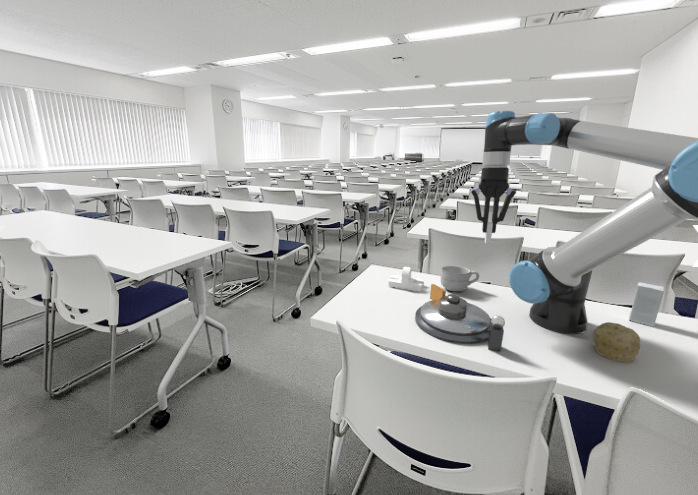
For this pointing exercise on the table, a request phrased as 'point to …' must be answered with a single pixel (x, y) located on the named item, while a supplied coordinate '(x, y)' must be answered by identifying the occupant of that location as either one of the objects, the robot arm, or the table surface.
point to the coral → (616, 342)
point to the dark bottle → (496, 333)
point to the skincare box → (646, 304)
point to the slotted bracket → (406, 281)
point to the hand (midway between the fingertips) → (487, 242)
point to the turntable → (468, 326)
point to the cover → (452, 307)
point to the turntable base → (450, 337)
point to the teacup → (457, 277)
